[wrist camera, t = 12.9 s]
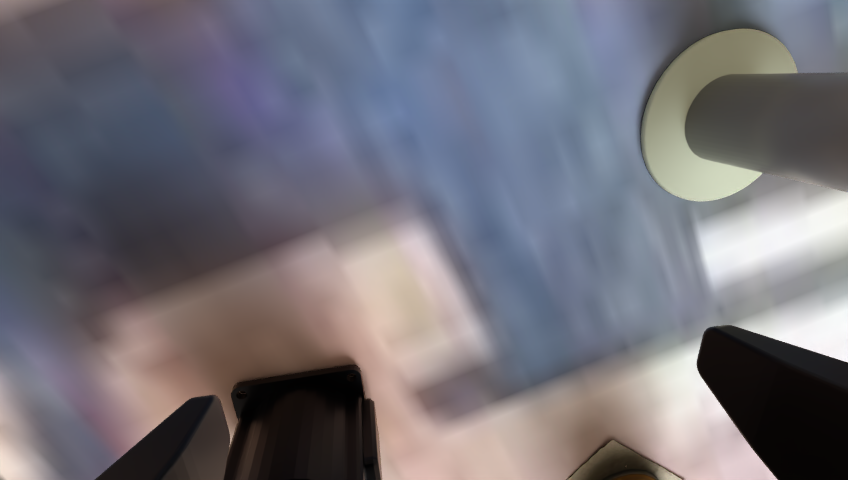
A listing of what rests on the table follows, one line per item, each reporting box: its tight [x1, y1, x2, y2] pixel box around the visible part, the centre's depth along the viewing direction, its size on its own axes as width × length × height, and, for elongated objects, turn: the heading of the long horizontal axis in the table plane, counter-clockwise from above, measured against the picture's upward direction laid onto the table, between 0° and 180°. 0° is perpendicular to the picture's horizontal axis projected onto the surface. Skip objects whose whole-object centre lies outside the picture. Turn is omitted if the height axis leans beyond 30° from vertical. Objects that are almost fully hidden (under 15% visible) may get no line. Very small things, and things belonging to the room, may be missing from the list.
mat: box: [641, 29, 798, 201], centre depth 21 cm, size 8×8×1 cm
